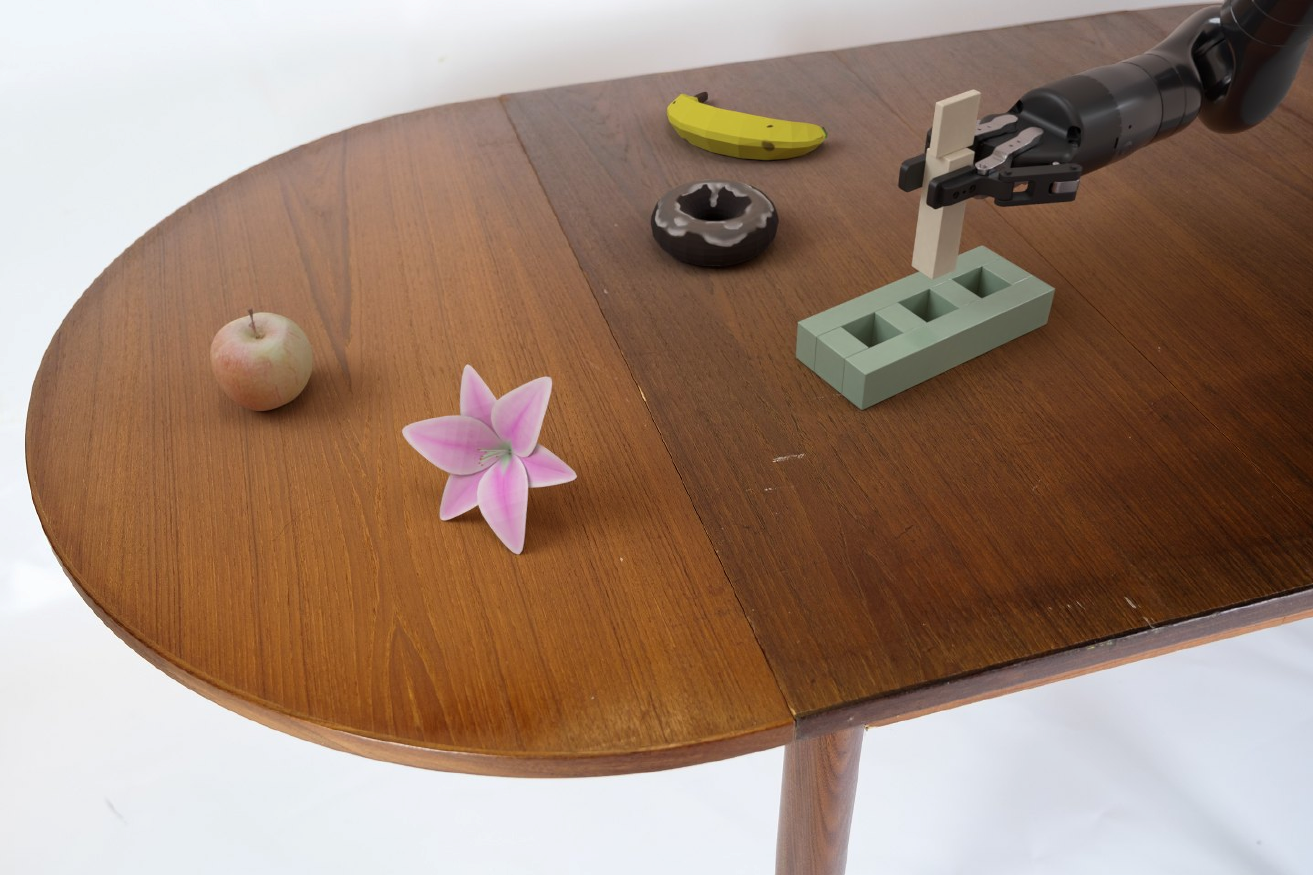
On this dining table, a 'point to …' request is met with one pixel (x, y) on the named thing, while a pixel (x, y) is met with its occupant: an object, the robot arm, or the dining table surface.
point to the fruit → (261, 360)
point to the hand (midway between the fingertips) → (917, 186)
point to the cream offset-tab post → (944, 155)
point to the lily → (492, 453)
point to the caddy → (922, 326)
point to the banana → (741, 131)
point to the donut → (714, 222)
